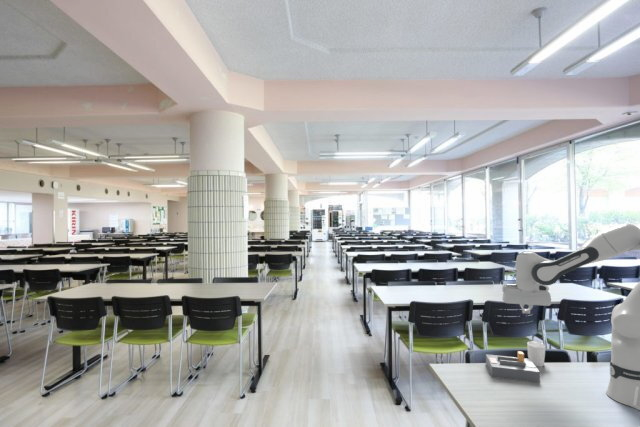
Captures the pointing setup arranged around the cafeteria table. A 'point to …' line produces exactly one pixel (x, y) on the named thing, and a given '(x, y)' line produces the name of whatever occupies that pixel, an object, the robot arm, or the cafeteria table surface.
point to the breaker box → (512, 368)
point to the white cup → (536, 353)
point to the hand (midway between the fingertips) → (526, 313)
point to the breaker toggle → (520, 356)
